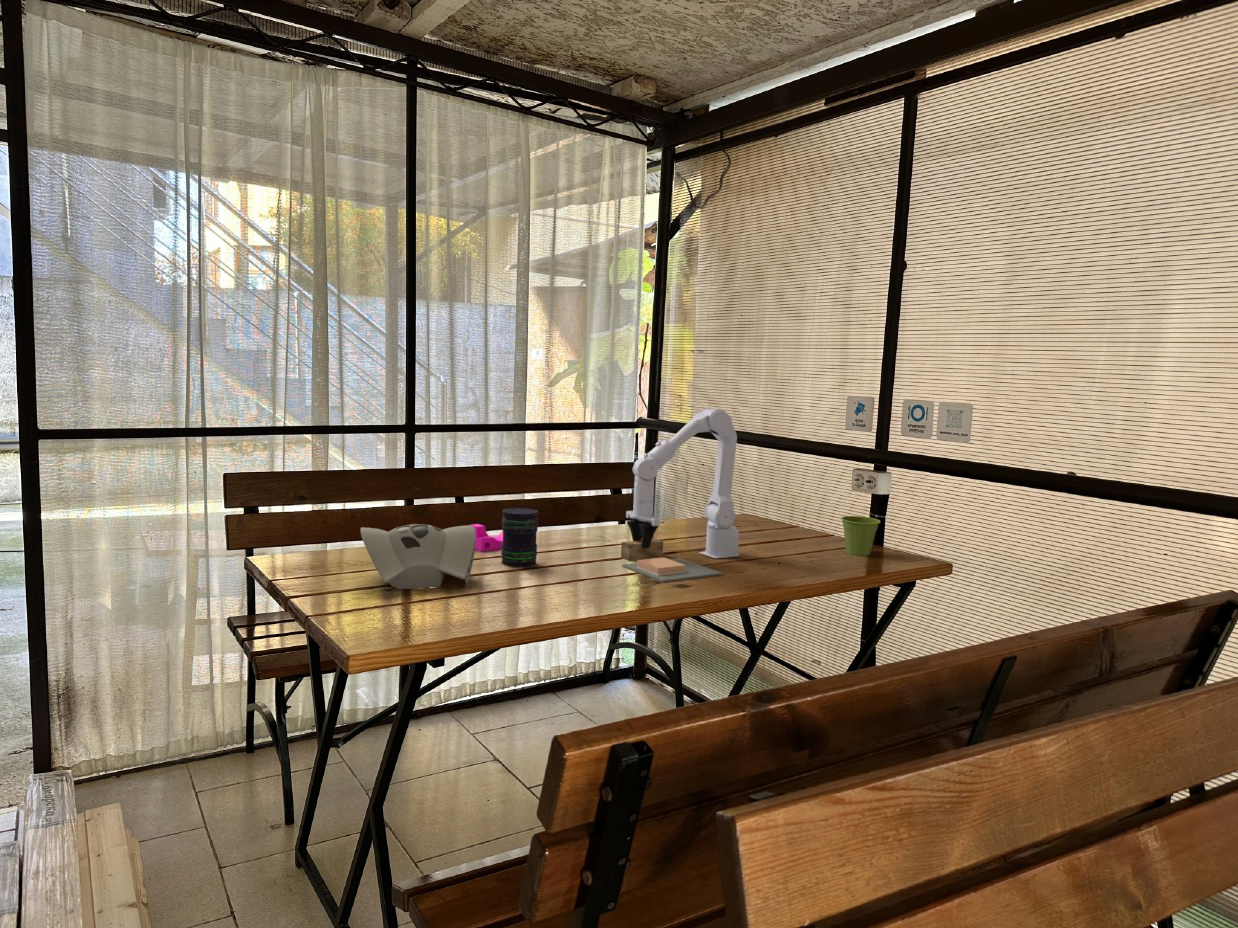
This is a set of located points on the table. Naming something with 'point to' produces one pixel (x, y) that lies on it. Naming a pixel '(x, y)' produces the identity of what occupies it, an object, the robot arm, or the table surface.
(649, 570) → the tile
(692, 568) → the slate mat
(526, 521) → the storage jar
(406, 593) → the table surface
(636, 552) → the brown wooden block
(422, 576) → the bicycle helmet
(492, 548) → the toy block
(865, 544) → the plant pot
